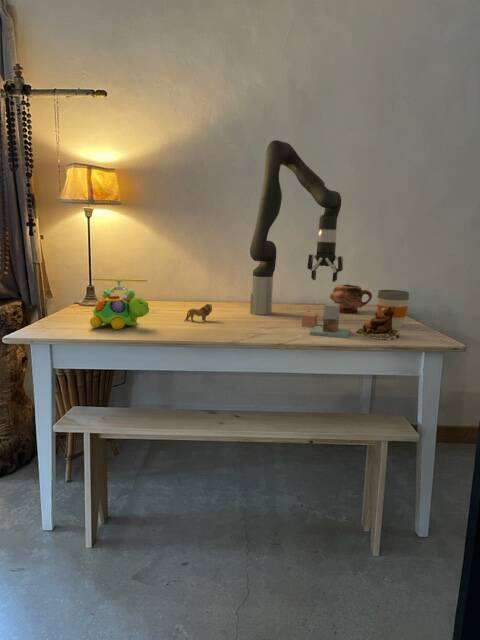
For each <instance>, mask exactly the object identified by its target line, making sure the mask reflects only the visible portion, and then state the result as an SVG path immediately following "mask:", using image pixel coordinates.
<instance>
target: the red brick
mask: <svg viewBox="0 0 480 640" xmlns="http://www.w3.org/2000/svg"><path fill="white" fill-rule="evenodd" d="M301 319H302V320H301V327H303V328H304V327H305V328H313V327H314V326H317V323H318V313H313V312H312V313H310V312H305V313H304V314H302V318H301Z"/></svg>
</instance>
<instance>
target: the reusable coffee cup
mask: <svg viewBox="0 0 480 640" xmlns="http://www.w3.org/2000/svg"><path fill="white" fill-rule="evenodd" d="M376 297H377V313H378V312H380V310H381V309H382V308H386V307H390V306H391V307H393V306H394V307H395V308H394V315H393V316H392V329H400V328H402V327H403V323H404V321H405V318H406V315H407V310H408V301H410V292H409V291H405V290H399V289H396V290H395V289H379V290H378V292H377V296H376Z"/></svg>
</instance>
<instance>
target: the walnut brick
mask: <svg viewBox="0 0 480 640" xmlns="http://www.w3.org/2000/svg"><path fill="white" fill-rule="evenodd" d="M339 321H340V316H339V317H338V319H325V318H324V317H323V322H322V324H323V325H322V327H323V331H325V332H337V330H338V328H339V324H340V323H339Z"/></svg>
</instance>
